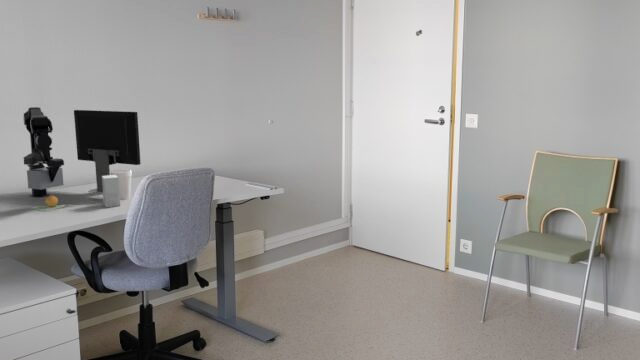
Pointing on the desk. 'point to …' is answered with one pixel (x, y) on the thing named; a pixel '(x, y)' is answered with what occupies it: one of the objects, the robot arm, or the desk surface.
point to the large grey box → (43, 178)
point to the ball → (51, 201)
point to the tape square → (47, 207)
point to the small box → (111, 190)
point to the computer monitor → (107, 140)
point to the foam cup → (123, 182)
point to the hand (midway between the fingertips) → (45, 181)
